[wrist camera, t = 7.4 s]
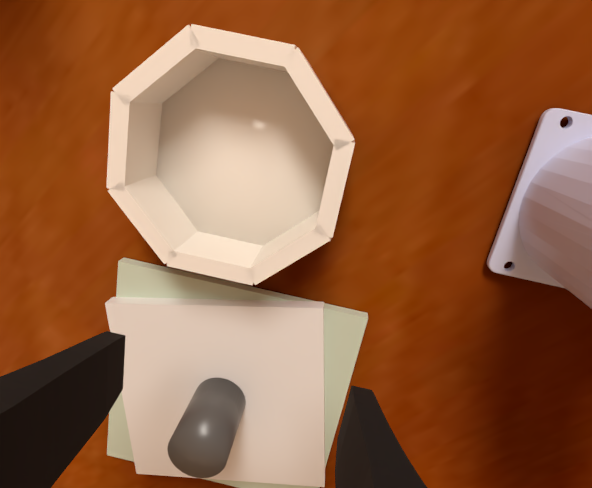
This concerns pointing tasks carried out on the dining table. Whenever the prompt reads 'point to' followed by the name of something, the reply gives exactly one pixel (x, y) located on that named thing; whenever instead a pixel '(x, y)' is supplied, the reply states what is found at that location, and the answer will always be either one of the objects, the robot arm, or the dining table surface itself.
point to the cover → (224, 387)
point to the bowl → (228, 154)
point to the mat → (179, 284)
